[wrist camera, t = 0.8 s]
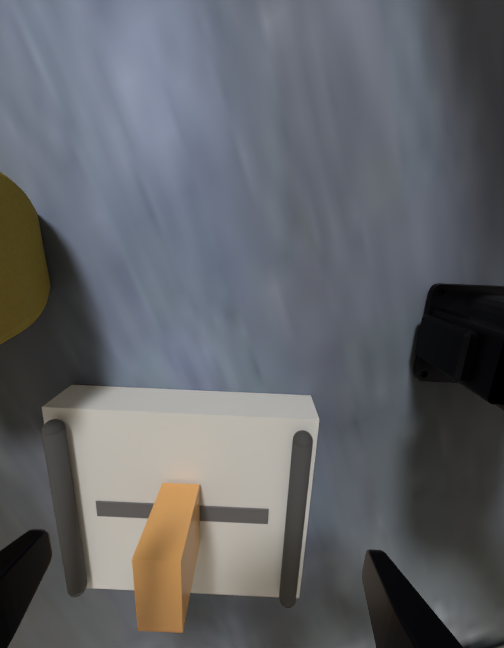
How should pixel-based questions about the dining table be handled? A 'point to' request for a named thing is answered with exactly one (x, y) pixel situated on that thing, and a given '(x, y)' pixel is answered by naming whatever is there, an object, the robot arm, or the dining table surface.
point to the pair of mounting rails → (69, 522)
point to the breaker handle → (167, 559)
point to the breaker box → (185, 477)
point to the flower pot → (20, 262)
